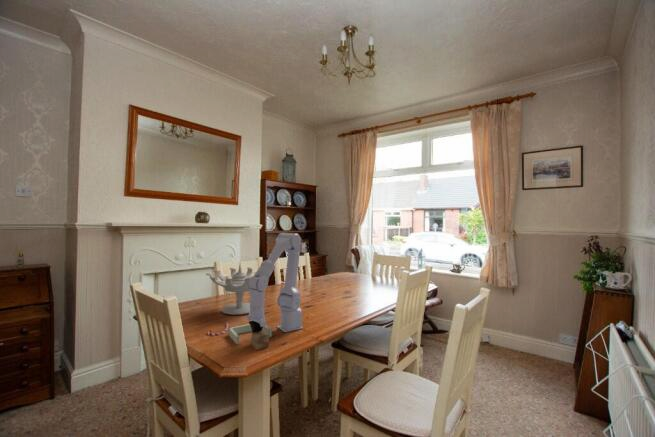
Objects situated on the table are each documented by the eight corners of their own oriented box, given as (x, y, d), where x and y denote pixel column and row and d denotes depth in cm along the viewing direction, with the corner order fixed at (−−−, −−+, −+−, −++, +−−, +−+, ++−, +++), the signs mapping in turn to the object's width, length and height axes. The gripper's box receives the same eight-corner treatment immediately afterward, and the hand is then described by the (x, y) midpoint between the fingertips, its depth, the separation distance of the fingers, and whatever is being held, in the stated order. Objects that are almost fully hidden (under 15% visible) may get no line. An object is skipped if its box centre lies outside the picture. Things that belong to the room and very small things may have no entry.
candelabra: (277, 316, 152) (278, 264, 152) (204, 324, 139) (205, 267, 139) (266, 299, 184) (266, 256, 184) (205, 305, 171) (206, 258, 171)
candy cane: (234, 322, 141) (222, 334, 126) (234, 324, 141) (222, 337, 126) (218, 321, 141) (204, 333, 126) (218, 324, 141) (204, 336, 126)
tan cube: (263, 342, 120) (263, 330, 120) (268, 346, 116) (268, 334, 116) (251, 345, 117) (252, 332, 117) (256, 349, 113) (256, 336, 113)
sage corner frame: (261, 328, 136) (261, 321, 136) (271, 336, 126) (271, 329, 126) (228, 334, 127) (228, 328, 127) (236, 344, 118) (236, 336, 118)
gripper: (241, 302, 124) (241, 335, 124) (253, 311, 112) (253, 347, 112) (258, 300, 128) (257, 331, 128) (271, 308, 116) (270, 343, 116)
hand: (256, 338), depth 120 cm, fingers closed
